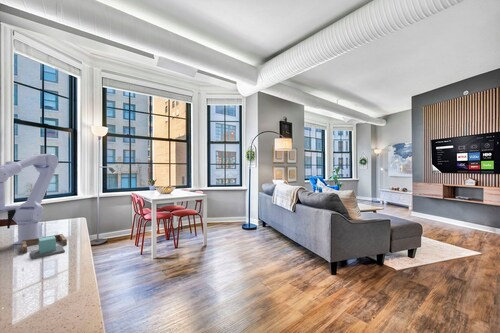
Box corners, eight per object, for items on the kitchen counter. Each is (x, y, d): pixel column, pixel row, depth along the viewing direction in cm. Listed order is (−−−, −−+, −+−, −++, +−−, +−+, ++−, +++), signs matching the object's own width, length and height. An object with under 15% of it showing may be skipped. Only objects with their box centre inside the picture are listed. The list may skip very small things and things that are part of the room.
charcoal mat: (30, 252, 99) (30, 250, 99) (61, 246, 106) (61, 244, 106) (32, 259, 92) (32, 257, 92) (64, 252, 99) (64, 250, 99)
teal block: (38, 250, 99) (38, 238, 99) (54, 247, 103) (54, 235, 103) (40, 253, 96) (39, 241, 96) (56, 250, 99) (55, 238, 99)
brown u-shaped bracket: (21, 246, 108) (21, 240, 108) (62, 238, 118) (62, 233, 118) (23, 253, 98) (22, 247, 98) (66, 244, 108) (66, 239, 108)
